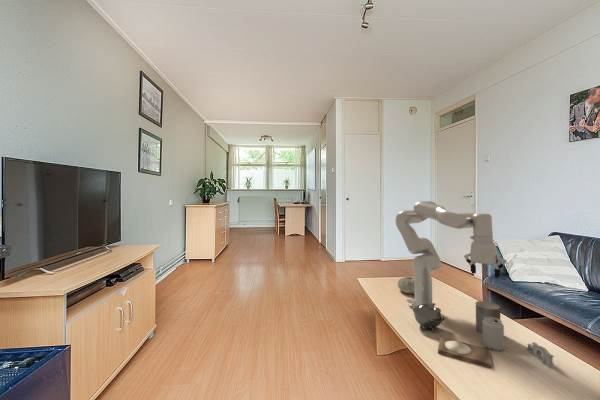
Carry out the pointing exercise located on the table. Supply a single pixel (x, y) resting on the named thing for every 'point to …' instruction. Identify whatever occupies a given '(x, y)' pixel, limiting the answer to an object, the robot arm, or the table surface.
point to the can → (493, 333)
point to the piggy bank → (428, 315)
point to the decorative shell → (407, 285)
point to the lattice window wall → (538, 352)
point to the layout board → (464, 351)
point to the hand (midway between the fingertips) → (485, 275)
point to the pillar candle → (485, 313)
